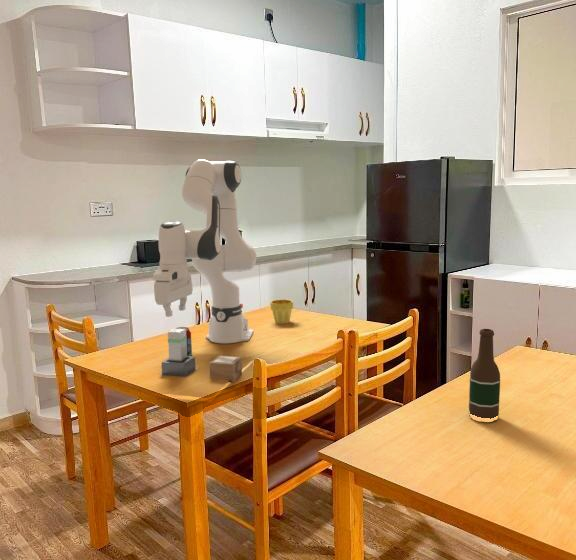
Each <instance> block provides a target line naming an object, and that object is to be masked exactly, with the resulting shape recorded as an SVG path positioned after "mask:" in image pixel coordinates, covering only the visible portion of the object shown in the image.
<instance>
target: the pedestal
mask: <svg viewBox="0 0 576 560" xmlns="http://www.w3.org/2000/svg"><path fill="white" fill-rule="evenodd" d="M242 364H243V363H242V356H232V355H231V356H230V355H218V356H216V357H215V358H213V360H210V362H209V378H210V379H221V380H222V379H223V380H228V381H227V383H234V382H236V381H237V380H238V379H239V378H240V377H241V376H242V375H243V368H242V367H243V365H242Z"/></svg>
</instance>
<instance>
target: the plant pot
mask: <svg viewBox="0 0 576 560" xmlns="http://www.w3.org/2000/svg"><path fill="white" fill-rule="evenodd" d="M269 305H270V310H271V311H272V315H273V319H274V323H275V324H278V323H279V324H280V325H281V324H282V325H284V323H285V324H288V322H289V323H290V320H291V316H292V315H291V314H292V310H293V308H294V302H293V300H291V299H286V298H285V299H274V300H271V301H270V304H269Z"/></svg>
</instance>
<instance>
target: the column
mask: <svg viewBox="0 0 576 560" xmlns="http://www.w3.org/2000/svg"><path fill="white" fill-rule="evenodd" d="M186 340H187V336H186V329H175V328H172V329H171V330H170V329H169V331H167V344H168V358H169V362H178V363H183V362H185V361H186V360H187V341H186Z"/></svg>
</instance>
